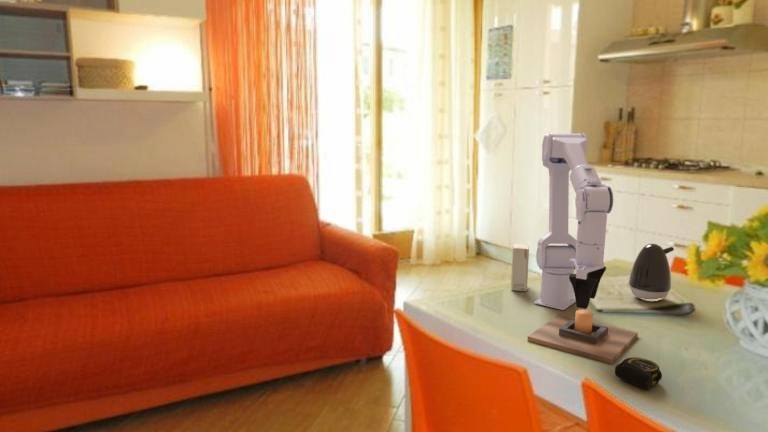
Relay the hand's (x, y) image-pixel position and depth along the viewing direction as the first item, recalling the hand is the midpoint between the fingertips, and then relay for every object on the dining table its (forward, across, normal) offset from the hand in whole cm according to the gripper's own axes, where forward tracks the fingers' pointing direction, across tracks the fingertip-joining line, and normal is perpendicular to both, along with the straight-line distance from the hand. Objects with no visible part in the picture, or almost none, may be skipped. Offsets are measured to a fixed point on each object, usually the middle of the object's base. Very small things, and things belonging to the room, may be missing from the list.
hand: (585, 302), depth 124 cm
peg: (+7, 0, 0) cm, 7 cm away
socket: (+8, 0, 0) cm, 8 cm away
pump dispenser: (+9, -37, +9) cm, 39 cm away
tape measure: (+9, +16, +13) cm, 23 cm away
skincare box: (+9, -28, -23) cm, 37 cm away
